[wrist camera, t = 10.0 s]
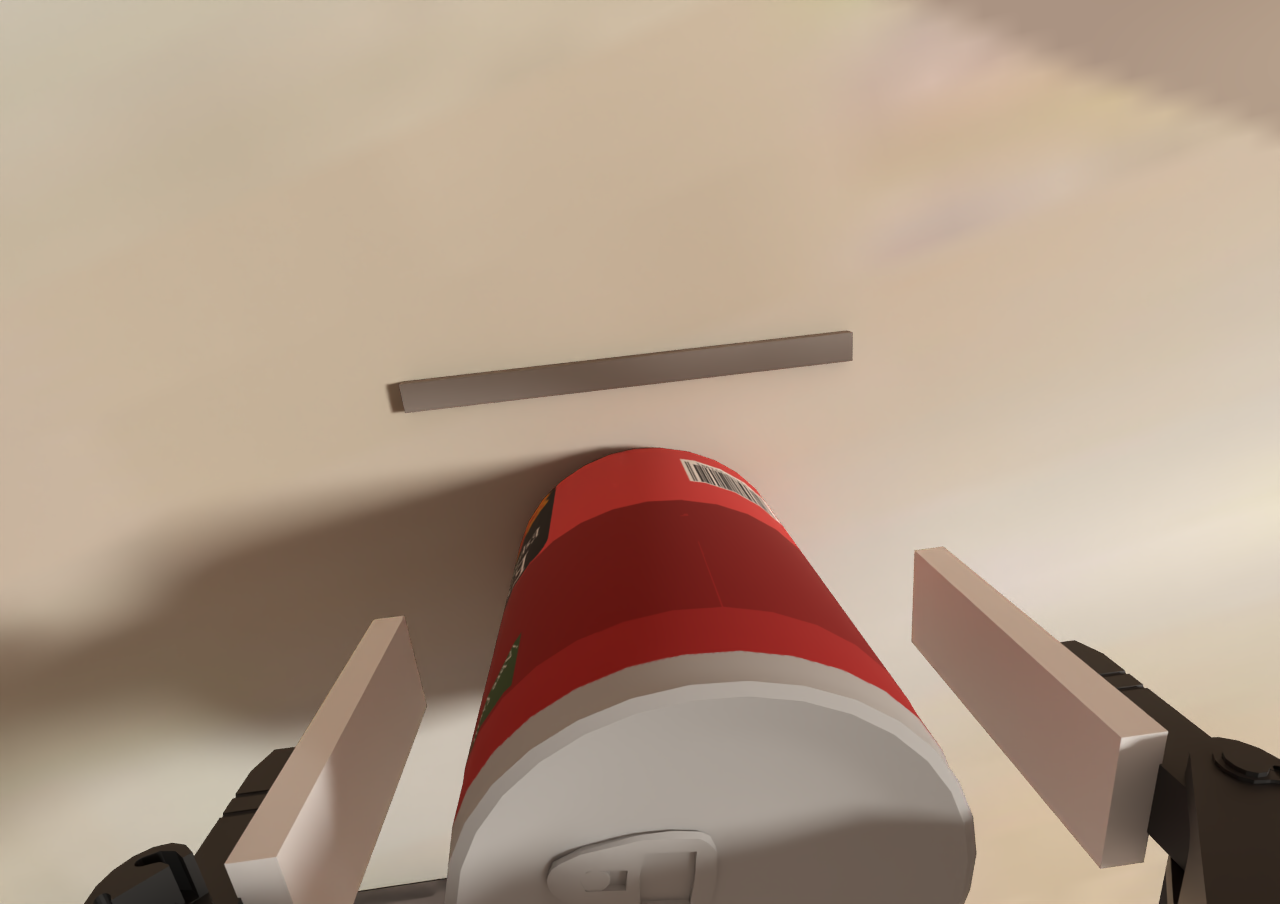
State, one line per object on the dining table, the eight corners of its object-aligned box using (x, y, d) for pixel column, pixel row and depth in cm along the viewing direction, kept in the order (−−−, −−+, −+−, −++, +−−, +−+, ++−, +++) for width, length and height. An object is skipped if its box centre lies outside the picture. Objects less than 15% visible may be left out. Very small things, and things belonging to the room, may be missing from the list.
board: (402, 381, 17) (389, 390, 16) (847, 330, 18) (864, 336, 17) (578, 1166, 29) (577, 1204, 28) (846, 1121, 29) (856, 1156, 28)
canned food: (491, 470, 18) (361, 757, 8) (756, 412, 18) (976, 620, 8) (554, 682, 21) (519, 1120, 10) (789, 630, 21) (991, 1010, 10)
